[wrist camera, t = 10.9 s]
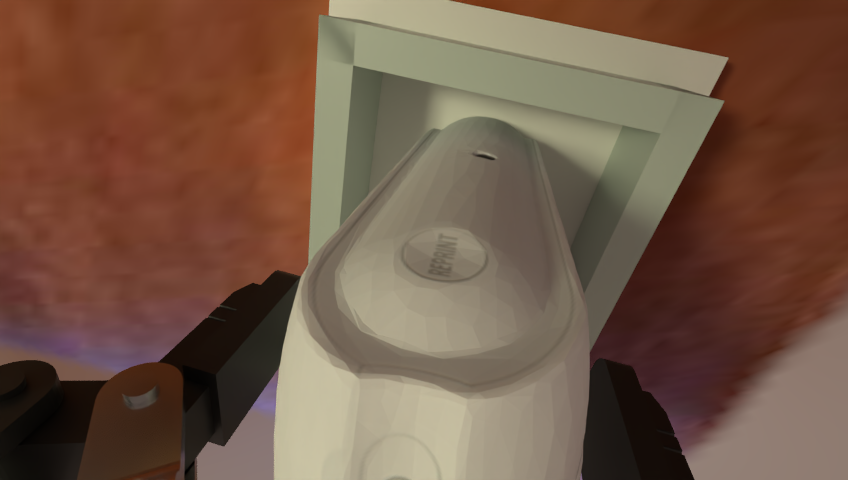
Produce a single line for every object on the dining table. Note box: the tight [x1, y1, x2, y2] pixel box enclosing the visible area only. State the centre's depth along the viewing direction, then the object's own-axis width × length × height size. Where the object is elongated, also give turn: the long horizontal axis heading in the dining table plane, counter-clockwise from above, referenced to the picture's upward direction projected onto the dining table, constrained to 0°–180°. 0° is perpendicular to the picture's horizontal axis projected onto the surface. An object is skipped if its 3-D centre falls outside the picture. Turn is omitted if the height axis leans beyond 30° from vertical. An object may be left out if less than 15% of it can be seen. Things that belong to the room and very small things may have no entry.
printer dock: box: [308, 0, 728, 351], centre depth 15 cm, size 16×12×4 cm
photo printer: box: [274, 116, 590, 480], centre depth 10 cm, size 10×4×12 cm, turn 177°
